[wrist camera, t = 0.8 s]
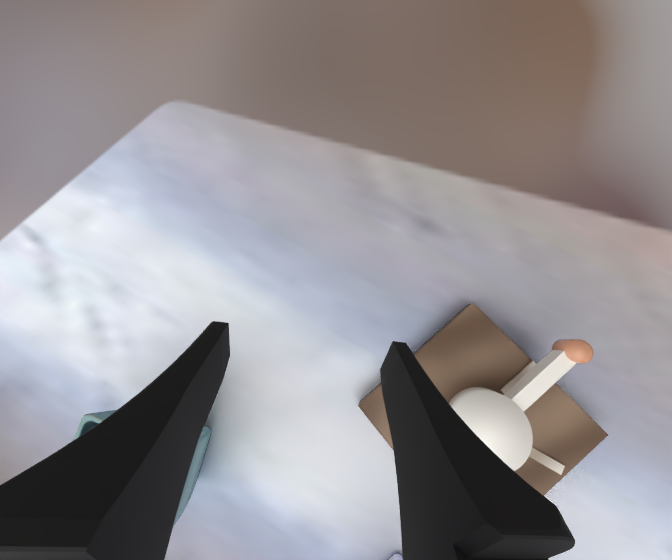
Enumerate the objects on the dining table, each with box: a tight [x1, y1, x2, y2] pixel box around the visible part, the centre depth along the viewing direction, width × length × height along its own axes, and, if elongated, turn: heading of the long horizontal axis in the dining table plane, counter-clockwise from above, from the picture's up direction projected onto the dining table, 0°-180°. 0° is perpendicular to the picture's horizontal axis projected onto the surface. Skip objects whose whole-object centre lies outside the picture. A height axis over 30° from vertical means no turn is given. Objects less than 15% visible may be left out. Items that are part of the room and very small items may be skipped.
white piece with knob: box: [449, 340, 593, 471], centre depth 23 cm, size 13×6×2 cm, turn 130°
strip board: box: [358, 303, 608, 496], centre depth 25 cm, size 15×15×3 cm
